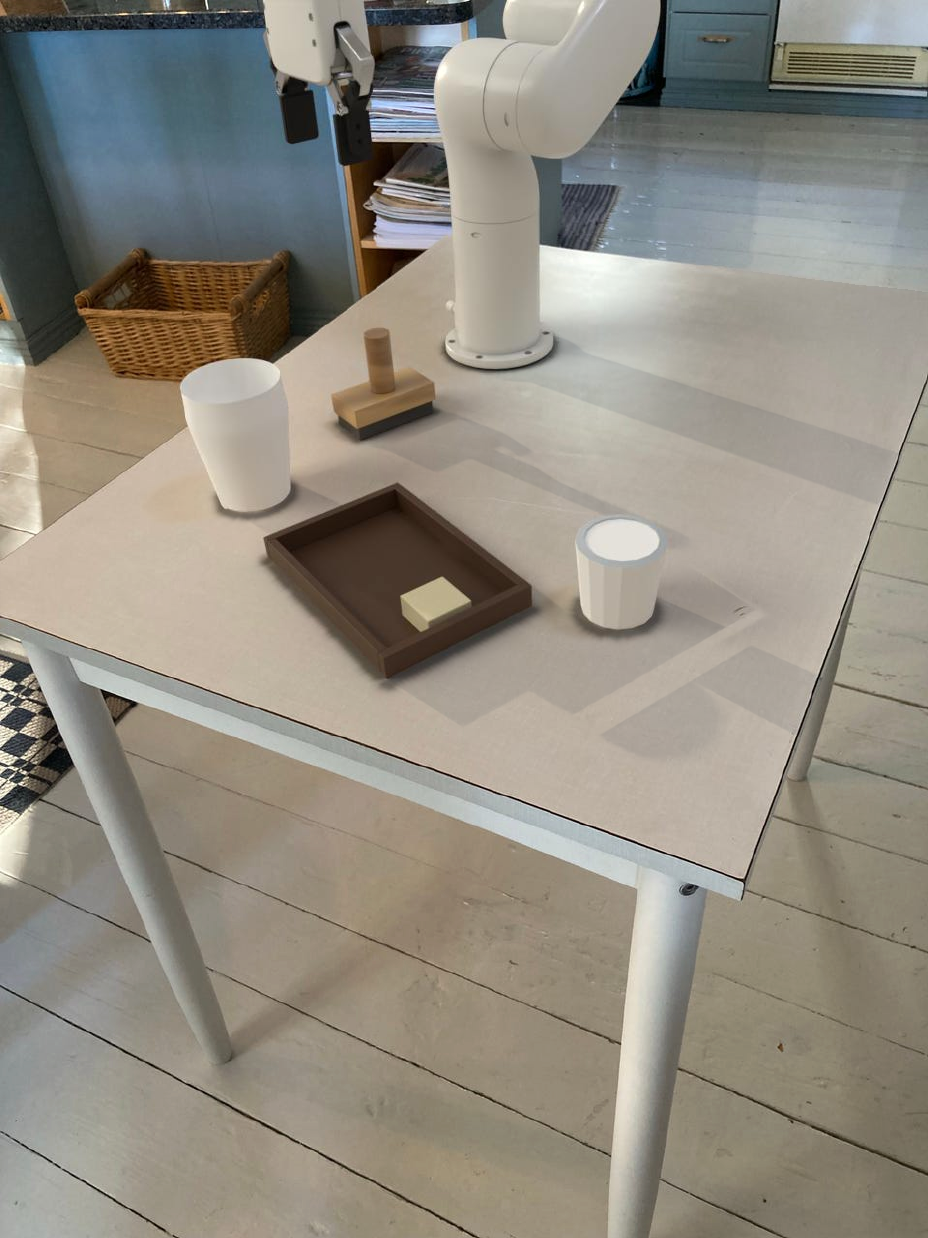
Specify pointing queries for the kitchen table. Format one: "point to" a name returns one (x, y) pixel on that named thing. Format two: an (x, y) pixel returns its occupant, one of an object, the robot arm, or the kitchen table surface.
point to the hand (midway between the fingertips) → (328, 150)
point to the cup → (241, 430)
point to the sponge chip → (433, 603)
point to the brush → (383, 392)
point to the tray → (393, 575)
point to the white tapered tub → (619, 569)
